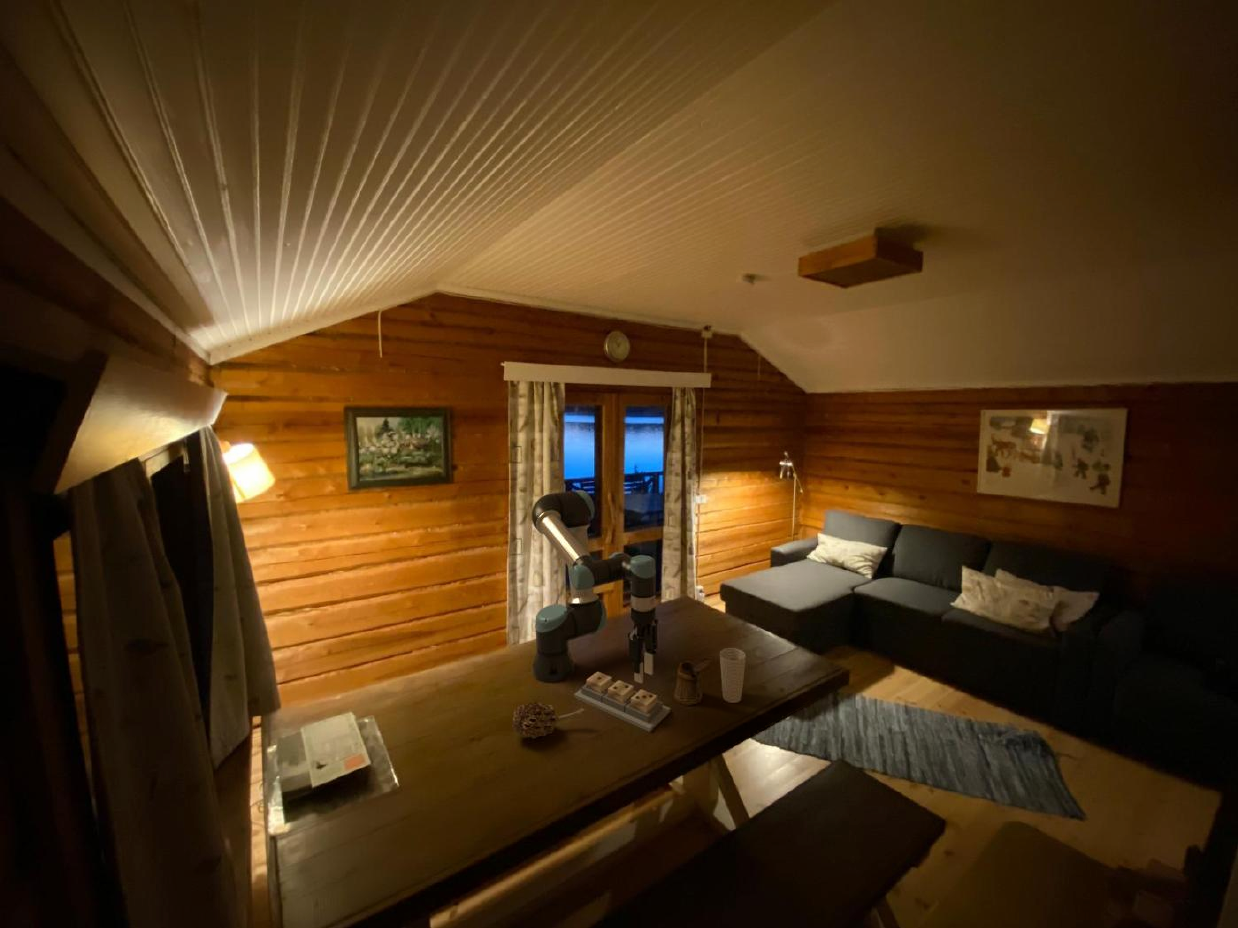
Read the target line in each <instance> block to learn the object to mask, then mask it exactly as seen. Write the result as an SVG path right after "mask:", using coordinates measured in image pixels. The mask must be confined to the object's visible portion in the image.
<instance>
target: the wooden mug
mask: <svg viewBox="0 0 1238 928" xmlns="http://www.w3.org/2000/svg"><path fill="white" fill-rule="evenodd" d="M710 661H711V660H710V658H704V659H702V660H701V661H698V662H697V663H695V662H693V661H686V660H685V661H683V662H680V663H679V666H678V669H677V679H676V685H675V686H676V687H675V690H674V695H673V697H674V700H675V701H676V702H678V703H680V704H682V705H685V706H692V705H696V704H699V703H700V702H701V700H702V699H703V693H702V691H701V688H702V686H703V676H702V675H703V674H702V672H701V671H702V670H703V669H705V668H706V667H707V666H708V665H709V664H710Z"/></svg>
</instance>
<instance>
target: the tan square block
mask: <svg viewBox="0 0 1238 928" xmlns="http://www.w3.org/2000/svg"><path fill="white" fill-rule="evenodd" d="M612 682H613V679H612V676H610V675H607V674H605V673H602V672H600V671H596V672H595V673H594V674H593V675H591V676H589V677H588V678H587V679H586V683H585V684H587V688H589V689H591V690H593V691H596V692H598V693H600V694H601V693H603V692H604V691H605V690H606V689H608V688H609V687H610V686H611V685H612Z"/></svg>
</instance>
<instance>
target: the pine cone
mask: <svg viewBox="0 0 1238 928" xmlns="http://www.w3.org/2000/svg"><path fill="white" fill-rule="evenodd" d="M584 711H585V709H584V708H581V707H580V708H579V710H576V711H574V712H571V713H567V714H563V715H559V716H558V714H556V713H555V709H554V707H553V705H552V704H548V703H547V702H544V703H542V702H540V701H539V702H537V701H534V703H533V702H529V703H527V704H522V705H520V706H518V707H517V709H516V710H515V711H513V717H512V729H513V731H514V732H515V731H516V734H517V735H519V736H521V735H522V737H524V738H527V739H528V738H530V737H531V738H532V739H535V738H539V737H545V736H547V735H550V734H553V732H554V729H555V726H556V724H558V723H557V722H560V721H565V720H568V719H571V718H576V717H579V716H584Z"/></svg>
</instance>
